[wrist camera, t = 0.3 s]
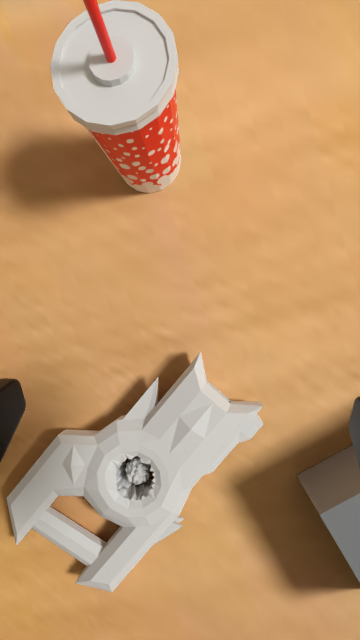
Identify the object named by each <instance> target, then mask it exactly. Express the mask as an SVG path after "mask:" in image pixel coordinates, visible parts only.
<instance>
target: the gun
mask: <svg viewBox="0 0 360 640" xmlns="http://www.w3.org/2000/svg"><path fill="white" fill-rule="evenodd" d="M262 407H263V405H262V403H261V402H250V401H230V400H229V399H228V398H227V397H226V396H224V395H223V394H222V393H221V392H220V391H218V390H217V389H216V388H215V387H214V386H213V385H211V384H210V383H209V382H208V381H207V379H206V374H205V369H204V364H203V359H202V354H201V352H200V353H199V355H198V356H197V357H196V358H195V359H194V361H193V362H192V363H191V364H190V365H189V367H188V368H187V369H186V370H185V371H184V373H183V374H182V375H181V376H180V377H179V378H178V380H177V381H176V382H175V383H174V384H173V386H172V387H171V388H170V389H169V390H168V392H167V393H166V394H165V395H164V396H163V398H162V399H161V400H160V401H159V402H158V378H157V379H156V380H155V381H154V383H153V384H152V385H151V386H150V387H149V389H148V390H147V391H146V392H145V393H144V394H143V396H142V397H141V398H140V399H139V400H138V402H137V403H136V404H135V405H134V406H133V408H132V409H131V410H130V411H129V412H128V414H127V415H122V416H120V417H119V418H117V419H116V420H115V421H113V422H112V423H110V424H109V425H107V426H106V427H104V428H103V429H102V430H100V431H93V430H69V429H65V430H64V431H63V432H61V433H60V434H58V435H57V436H56V438H55V439H54V440H53V441H52V443H51V444H50V445H49V446H48V448H47V449H46V450H45V451H44V452H43V454H42V455H41V456H40V457H39V459H38V460H37V461H36V462H35V464H34V465H33V466H32V467H31V468H30V470H29V471H28V472H27V473H26V475H25V476H24V477H23V478H22V480H21V481H20V482H19V483H18V485H17V486H16V487H15V488H14V489H13V491H12V492H11V493H10V494H9V496H8V497H7V498H6V499H7V504H8V509H9V513H10V518H11V523H12V528H13V532H14V537H15V542H16V545H17V544H18V543H19V542H20V541H21V540H22V539H23V538H24V537H25V536H26V535H27V533H28V532H29V531H30V530H31V528H32V529H33V530H35V531H36V532H38V533H39V534H41V535H42V536H44V537H45V538H47V539H48V540H49V541H51V542H52V543H54V544H55V545H57V546H58V547H60V548H61V549H63V550H64V551H66V552H67V553H69V554H70V555H72V556H73V557H75V558H76V559H77V560H79V561H80V562H82V563H83V564H85V565H86V567H85V568H84V569H83V571H82V572H81V574H80V576H79V577H78V579H77V581H76V583H77V584H81V585H85V586H89V587H93V588H97V589H102V590H106V591H110V592H113V590H114V589H115V588H116V587H117V586H118V585H119V584H120V582H121V581H122V580H123V579H124V578H125V577H126V575H127V574H128V573H129V572H130V571H131V570H132V569H133V567H134V566H135V565H136V564H137V563H138V562H139V561H140V559H141V558H142V557H143V556H144V555H145V554H146V553H147V551H148V550H149V549H150V548H151V547H152V546H153V545H154V544H156V543H157V542H159V541H161V540H162V539H164V538H165V537H167V536H168V535H170V534H172V533H173V532H175V531H176V530H178V529H180V528H181V527H183V525H181V524H180V523H179V522H180V521H182V520H183V519H184V518H183V517H181V516H179V515H180V513H181V511H182V508H183V506H184V504H185V502H186V500H187V498H188V496H189V493H190V491H191V489H192V487H193V486H194V485H195V484H196V483H197V482H198V480H199V479H200V478H201V477H202V476H203V475H205V474H208V473H212V472H213V471H214V470H215V469H216V468H217V466H218V465H219V464H220V463H221V462H222V461H223V460H224V458H225V457H226V456H227V455H228V454H229V453H230V452H231V450H232V449H233V448H234V447H235V446H236V445H237V443H240V442H243V441H246V440H249V439H251V438H252V437H253V436H254V435H255V434H256V432H257V431H258V430H259V429H260V428H261V427H262V426H263V422H262V420H261V419H260V417H259V416H258V414H257V413H258V411H259V410H260V409H261V408H262ZM136 456H138V457H140V458H138V457H137V458H134V457H136ZM127 458H128V459H131V461H132V462H131V461H130V462H128V463H127V465H126V468H124V466H125V460H126V459H127ZM133 458H134V459H133ZM148 464H150V465H151V469H150V466H149V465H148ZM149 470H150V471H153V474H152V475H153V476H154V478H153V480H148V479H149V475H150V474H149ZM125 472H126V473H127V475H126V474H125ZM147 481H148V482H147ZM142 482H143V483H144V482H147V483H146V484H143V483H142ZM138 484H139V485H138ZM58 496H84V498H85V499H86V500H87V501H88V502H89V503H90V504H91V506H92V507H93V508H94V509H95V510H96V511H97V512H98V514H99V515H100V516H102V517H104V518H106V519H108V520H110V521H112V522H114V523H116V524H118V525H120V527H119V528H118V530H117V531H116V532H115V533H114V534H113V535H112V537H111V538H110V539H109V540H108V541H107V542H105V541H103V540H102V539H100V538H99V537H97V536H95V535H94V534H92V533H91V532H89V531H88V530H86V529H84V528H83V527H81V526H80V525H78V524H77V523H75V522H74V521H72V520H70V519H69V518H67V517H66V516H64V515H63V514H61V513H59V512H58V511H56V510H55V509H53V508H52V507H50V505H51V504H52V503H53V502H54V501H55V499H56V498H57V497H58Z"/></svg>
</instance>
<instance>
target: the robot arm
mask: <svg viewBox="0 0 360 640" xmlns="http://www.w3.org/2000/svg"><path fill="white" fill-rule="evenodd" d="M25 406H26V403H25V399H24V395H23V392H22V388H21V385H20V382H19V381H18V380H16V379H7V378H4V379H0V462H1V460H2V458H3V456H4V454H5V452H6V450H7V448H8V445H9V443H10V441H11V439H12V437H13V435H14V432H15V430H16V428H17V426H18V424H19V422H20V419H21V417H22V415H23V413H24V410H25ZM349 431H350V435H351V439H352V443H353V446H354V450H355V454H356V458H357V462H358V466H359V469H360V397H357V398H356V399H355V401H354V405H353V409H352V413H351V416H350V420H349Z"/></svg>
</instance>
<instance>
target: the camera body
mask: <svg viewBox="0 0 360 640" xmlns="http://www.w3.org/2000/svg"><path fill="white" fill-rule="evenodd" d="M296 476H297V478H298V479H299V481H300V483H301V485H302V486H303V488H304V490H305V491H306V493H307V495H308V496H309V498H310V500H311V501H312V503H313V505H314V507H315V508H316V510H317V512H318V513H319V515H320V517H321V518H322V520H323V522H324V523H325V525H326V527H327V528H328V530H329V532H330V534H331V535H332V537H333V539H334V540H335V542H336V544H337V545H338V547H339V549H340V550H341V552H342V554H343V555H344V557H345V559H346V560H347V562H348V564H349V566H350V567H351V569H352V571H353V572H354V574H355V576H356V577H357V579H358V581H359V582H360V469H359V466H358V462H357V458H356V454H355V450H354V446H353V445H351V446H349V447H348V448H346V449H344V450H342V451H340V452H338V453H337V454H335V455H333V456H331V457H329V458H327V459H326V460H324V461H322V462H320V463H318V464H316V465H315V466H313V467H311V468H309V469H307V470H306V471H304V472H302V473H300V474H298V475H296Z"/></svg>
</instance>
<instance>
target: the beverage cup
mask: <svg viewBox="0 0 360 640" xmlns="http://www.w3.org/2000/svg"><path fill="white" fill-rule="evenodd" d="M83 1H84V4H85V6H86V9H87V10H86V11H84V12H83V13H82V14H80V15H79V16H77V17H76V18H75V19H73V20H72V21H70V23H69V24H68V26H67V27H66V29H65V30H64V32H63V33H62V34H61V36H60V37H59V39H58V40H57V42H56V45H55V49H54V53H53V57H52V61H51V66H50V67H51V74H52V80H53V87H54V91H55V92H56V94H57V95H58V97H59V98H60V100H61V101H62V103H63V105H64V106H65V108H66V109H67V111H68V112H69V113H70V114H71V116H72V117H73V119H74V120H75V121H77V122H78V123H80V124H81V125H83V126H85V127H86V129H87V130H88V131H89V133H90V134H91V135H92V137H93V138H94V139H95V141H96V142H97V144H98V145H99V146H100V148H101V149H102V150H103V152H104V153H105V154H106V156H107V157H108V159H109V160H110V161H111V163H112V164H113V165H114V167H115V168H116V169H117V171H118V172H119V174H120V175H121V176H122V178H123V179H124V180H125V182H126V183H127V185H129V186H130V187H132V188H133V189H135V190H136V191H140V192H145V193H152V192H157V191H161V190H163V189H164V188H166V187H167V186H169V185H170V184H172V182H173V181H174V179H175V178H176V176H177V175H178V173H179V169H180V165H181V152H180V139H179V127H178V114H177V101H176V89H175V88H176V83H177V79H178V75H179V68H178V63H179V62H178V55H177V50H176V45H175V39H174V34H173V32H172V31H171V30H170V28H169V27H168V25H167V24H166V22H165V21H164V20H163V18H162V17H161V15H160V14H158V13H156V12H155V11H153V10H151V9H149V8H148V7H146V6H144V5H142V4H141V3H138V2H129V1H119V0H113V1H110V2H106V3H103V4H99V5H98V3H97V1H96V0H83Z"/></svg>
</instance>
